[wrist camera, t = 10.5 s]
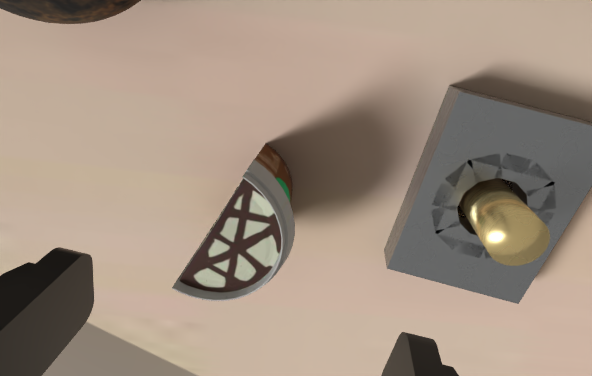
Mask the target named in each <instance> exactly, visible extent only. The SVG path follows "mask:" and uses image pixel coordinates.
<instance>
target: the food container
mask: <svg viewBox="0 0 592 376" xmlns="http://www.w3.org/2000/svg"><path fill="white" fill-rule="evenodd" d="M291 196H292V180H291V175H290V172H289V169H288V167H287V165H286V164H285V162H284V160H283V159H282V158H281V156H280V155H279V154H278V153H277V152H276V151H275V150H274V149H273V148H272V147H270V146H269V145H268V144H265V145H264V147H263V148H262V150H261V151H260V152H259V154H258V155H257V157H256V158H255V159H254V160H253V162H252V163H251V165H250V166H249V168H248V169H247V171H246V172H245V174H244V175H243V180H242V181H241V183H240V185H239V186H238V187H237V189H236V190H235V192H234V194H233V196H232V197H231V199H230V200H229V202H228V203H227V205H226V206H225V208H224V209H223V211H222V212H221V214H220V216H219V218H218V219H217V220H216V222H215V223H214V224H213V227H212V228H211V229H210V231H209V233H208V234H207V236H206V237H205V239H204V240H203V242H202V243H201V245H200V246H199V248H198V249H197V251H196V252H195V254H194V255H193V257H192V258H191V260H190V261H189V263H188V264H187V266H186V267H185V269H184V270H183V272H182V273H181V275H180V277H179V278H178V280H177V281H176V283H175V284H174V286H173V287H172V289H174V290H176V291H178V292H180V293H182V294H185V295H188V296H191V297H194V298H198V299H202V300H211V301H227V300H233V299H238V298H241V297H244V296H247V295H249V294H251V293H253V292H255V291H256V290H258V289H259V288H261V287H262V286H264V285H265V284H266V283H268V282H269V281H270V280H271V279H272V278H273V277H274V276H275V275H276V273H277V272H278V271H279V269H280V268H281V266H282V265H283V263H284V262H285V260H286V259H287V257H288V255H289V253H290V251H291V248H292V245H293V240H294V235H295V222H294V216H293V211H292V208H291V205H290V203H291Z"/></svg>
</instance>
